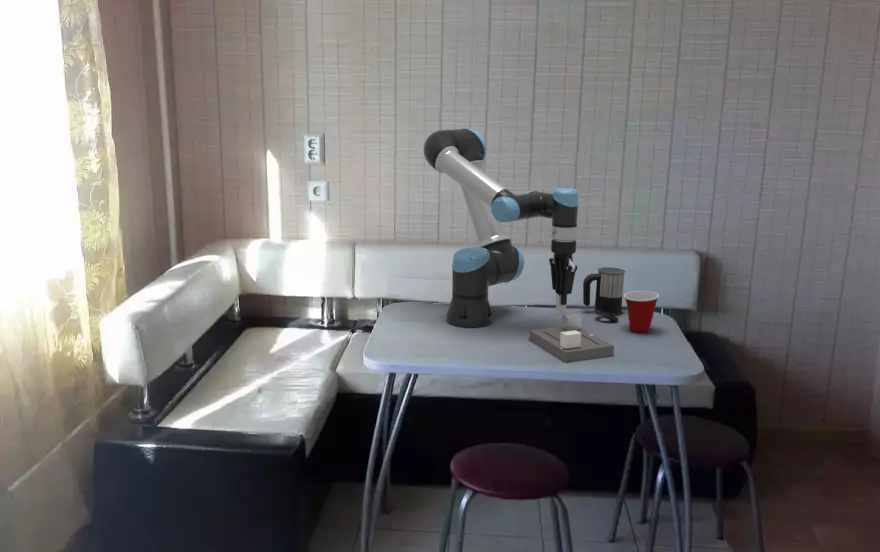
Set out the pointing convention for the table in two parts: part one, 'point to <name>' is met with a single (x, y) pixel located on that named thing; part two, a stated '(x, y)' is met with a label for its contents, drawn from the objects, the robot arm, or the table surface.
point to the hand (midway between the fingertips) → (560, 313)
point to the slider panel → (588, 349)
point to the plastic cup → (640, 309)
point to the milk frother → (606, 291)
